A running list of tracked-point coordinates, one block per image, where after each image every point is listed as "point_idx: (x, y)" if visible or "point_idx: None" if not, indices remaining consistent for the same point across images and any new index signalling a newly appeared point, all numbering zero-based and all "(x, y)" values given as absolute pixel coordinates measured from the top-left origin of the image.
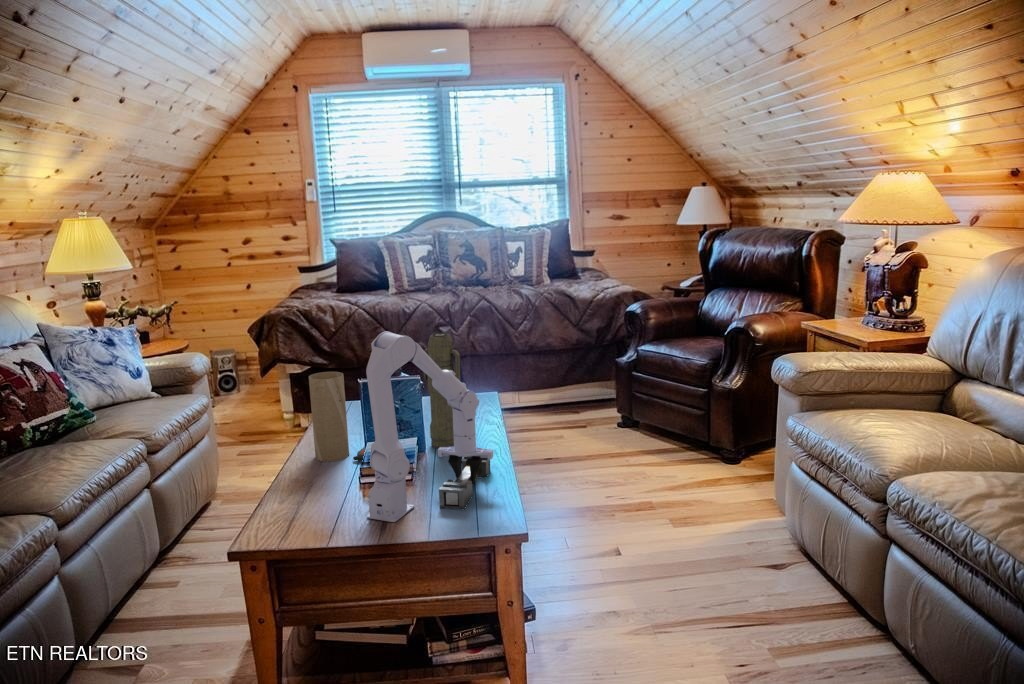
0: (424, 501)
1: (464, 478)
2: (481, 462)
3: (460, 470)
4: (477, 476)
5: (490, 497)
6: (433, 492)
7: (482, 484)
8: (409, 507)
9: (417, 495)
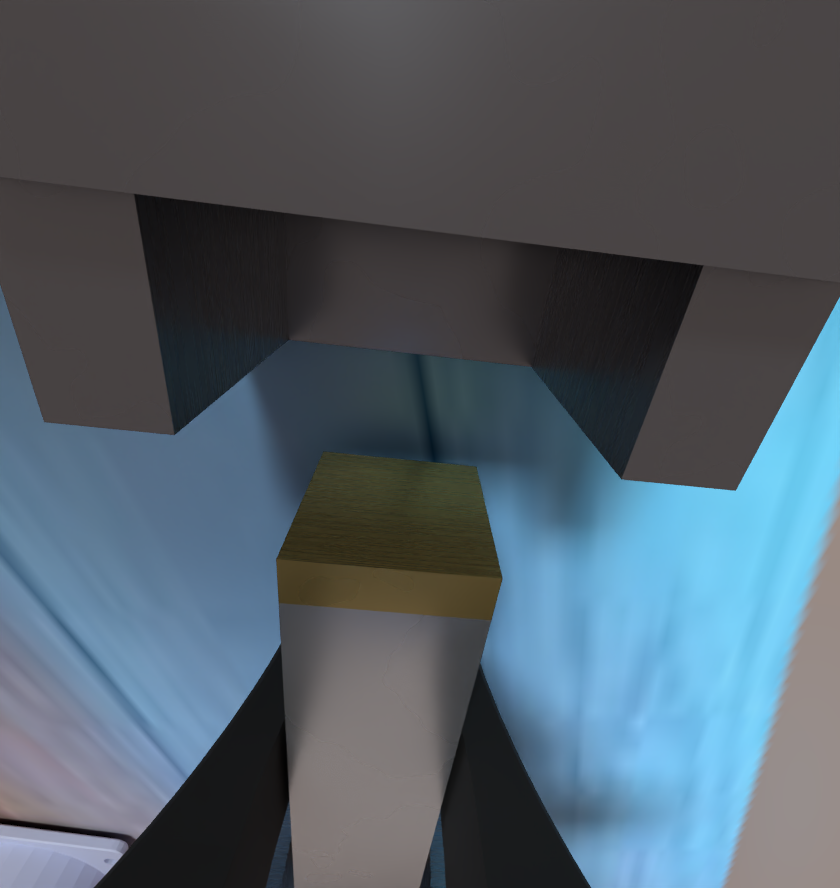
0: (143, 784)
1: (381, 864)
2: (613, 468)
3: (268, 807)
4: (476, 471)
5: (600, 736)
6: (122, 686)
7: (533, 539)
8: (109, 867)
9: (29, 725)
